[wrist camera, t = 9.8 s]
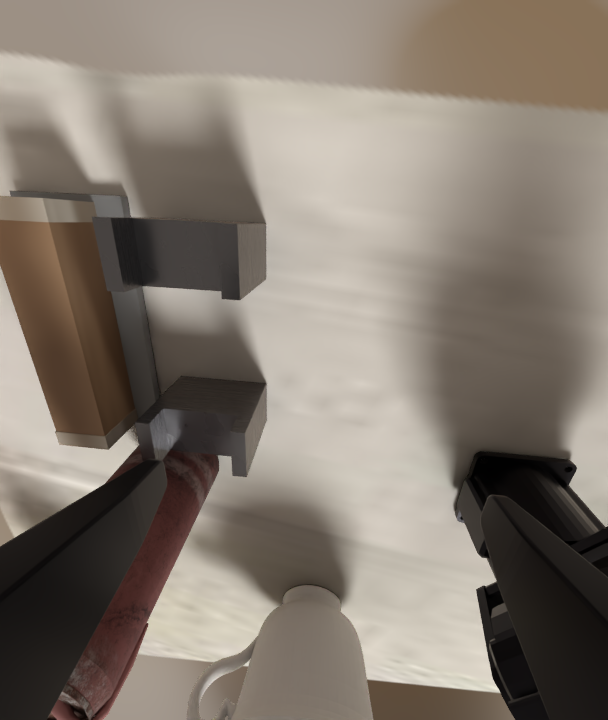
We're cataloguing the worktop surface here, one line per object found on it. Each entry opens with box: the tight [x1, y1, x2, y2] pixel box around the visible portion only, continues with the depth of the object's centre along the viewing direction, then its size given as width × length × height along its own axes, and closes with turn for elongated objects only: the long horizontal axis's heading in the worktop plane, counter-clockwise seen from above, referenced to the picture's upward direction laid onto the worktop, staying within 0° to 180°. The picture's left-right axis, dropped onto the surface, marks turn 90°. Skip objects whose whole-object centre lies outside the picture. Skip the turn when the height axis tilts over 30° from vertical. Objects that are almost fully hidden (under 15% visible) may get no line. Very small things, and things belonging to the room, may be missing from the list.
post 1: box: [92, 217, 266, 300], centre depth 16 cm, size 6×3×6 cm, turn 88°
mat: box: [10, 191, 160, 419], centre depth 20 cm, size 6×15×1 cm, turn 177°
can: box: [47, 446, 219, 720], centre depth 18 cm, size 6×6×14 cm
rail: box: [0, 196, 138, 450], centre depth 19 cm, size 3×14×3 cm, turn 178°
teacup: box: [187, 585, 373, 720], centre depth 26 cm, size 12×15×10 cm
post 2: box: [135, 376, 267, 477], centre depth 20 cm, size 6×3×6 cm, turn 87°
